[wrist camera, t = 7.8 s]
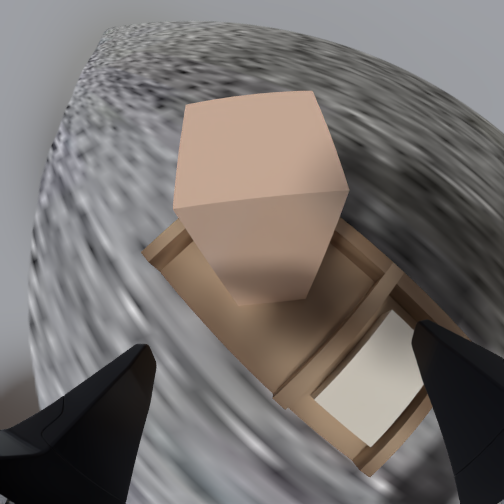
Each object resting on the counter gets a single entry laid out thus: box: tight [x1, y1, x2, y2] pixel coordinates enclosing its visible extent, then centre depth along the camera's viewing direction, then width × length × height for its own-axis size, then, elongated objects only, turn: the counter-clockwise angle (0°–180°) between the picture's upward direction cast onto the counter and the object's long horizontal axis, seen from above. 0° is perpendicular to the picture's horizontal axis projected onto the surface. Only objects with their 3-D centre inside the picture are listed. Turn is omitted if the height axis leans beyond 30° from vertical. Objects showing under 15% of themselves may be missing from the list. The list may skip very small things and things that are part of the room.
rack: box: [141, 217, 472, 477], centre depth 17 cm, size 11×21×3 cm, turn 44°
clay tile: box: [310, 310, 424, 447], centre depth 14 cm, size 7×5×2 cm
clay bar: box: [173, 91, 349, 306], centre depth 13 cm, size 4×4×12 cm
